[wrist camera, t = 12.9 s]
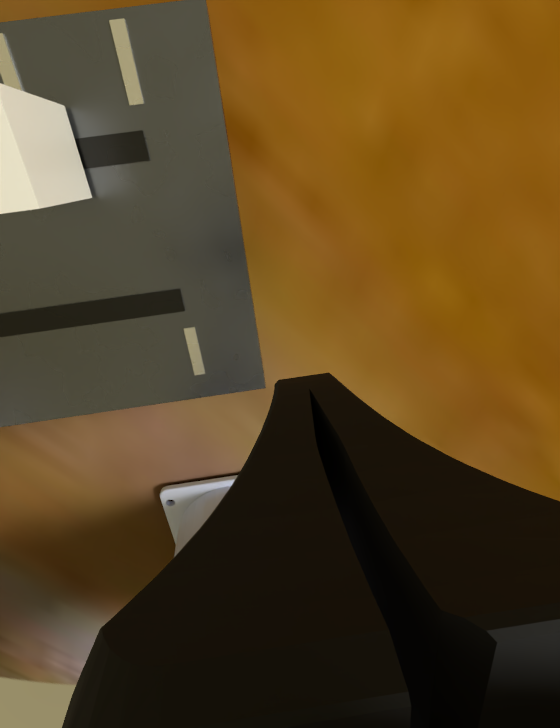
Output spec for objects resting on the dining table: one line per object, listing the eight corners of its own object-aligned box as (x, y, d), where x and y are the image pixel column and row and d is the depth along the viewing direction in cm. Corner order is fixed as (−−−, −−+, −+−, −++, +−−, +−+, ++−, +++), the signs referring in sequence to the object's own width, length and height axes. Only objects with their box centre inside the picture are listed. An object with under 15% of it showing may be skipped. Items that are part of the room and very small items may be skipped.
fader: (92, 197, 15) (40, 208, 11) (29, 206, 15) (-46, 220, 11) (64, 105, 14) (-6, 80, 10) (-5, 114, 14) (-104, 92, 10)
